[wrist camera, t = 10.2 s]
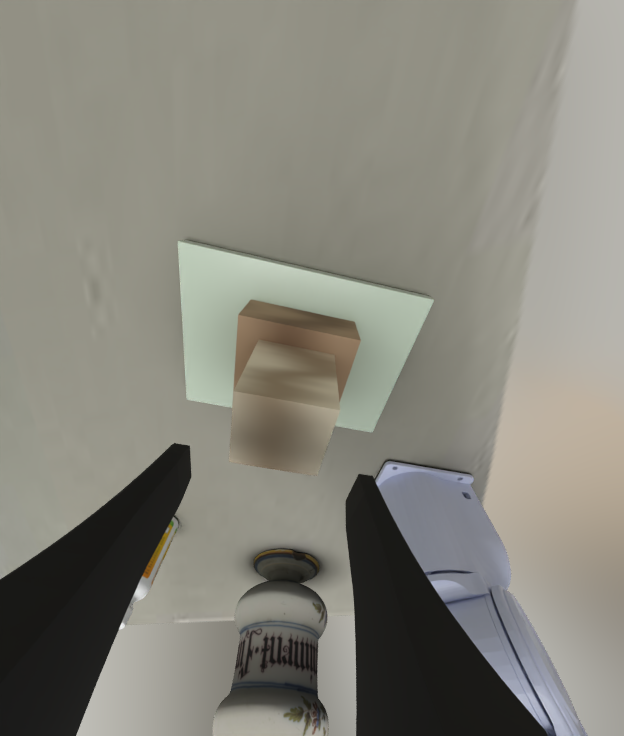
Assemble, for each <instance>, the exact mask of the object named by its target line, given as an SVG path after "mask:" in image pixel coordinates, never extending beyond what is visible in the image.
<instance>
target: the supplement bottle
mask: <svg viewBox="0 0 624 736" xmlns="http://www.w3.org/2000/svg"><path fill="white" fill-rule="evenodd" d="M177 528H178V521H177V520H176V518H175V517H173V518H172V520H171V522H170V524H169V526H168V528H167V530H166V531H165V533H164V535H163V537H162V539H161V541H160V543H159V545H158V546H157V548H156V550H155V552H154V554H153V556H152V558H151V559H150V561H149V563H148V565H147V567H146V569H145V571H144V573H143V575H142V577H141V579H140V582H139V584H138V586H137V589H136V591H135V593H134V595H133V598H132V600H131V602H130V604H129V607H128V609H127V611H126V614H125V616H124V618H123V621H122V623H121V625H120V628H119V629H122V628H124V627H125V625H126V623H127V621H128V619H129V617H130V615H131V614H132V610H133V606H132V605H133V603H134V602H136V601H139V600H141V599H142V598H144V597H145V596H146V595H147V593H148V592H149V590H150V588H151V586H152V584H153V581H154V579H155V577H156V575H157V573H158V570H159V568H160V566H161V564H162V562H163V559H164V557H165V555H166V553H167V551H168V549H169V546H170V544H171V542H172V540H173V537H174V535H175V533H176V531H177Z"/></svg>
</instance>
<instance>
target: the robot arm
mask: <svg viewBox="0 0 624 736" xmlns="http://www.w3.org/2000/svg"><path fill="white" fill-rule="evenodd" d="M190 479H191V461H190V446H188V445H182V444H176V443H174V444H172V445H171V446H170V447H169V448H168V449H167V450H166V451H165V452H164V453H163V454H162V455H161V456H160V457H159V458H158V459H157V460H156V461H154V462H153V463H152V464H151V465H150V466H149V467H148V468H147V469H146V470H145V471H144V472H142V473H141V474H140V475H139V476H138V477H137V478H136V479H134V480H133V481H132V482H131V483H130V484H129V485H128V486H126V487H125V488H124V489H123V490H122V491H121V492H119V493H118V494H117V495H116V496H115V497H113V498H112V499H111V500H110V501H108V502H107V503H106V504H105V505H104V506H102V507H101V508H100V509H99V510H97V511H96V512H95V513H94V514H92V515H91V516H90V517H89V518H87V519H86V520H85V521H83V522H82V523H81V524H79V525H78V526H77V527H75V528H74V529H73V530H71V531H70V532H69V533H67V534H66V535H64V536H63V537H62V538H60V539H59V540H58V541H56V542H55V543H53V544H52V545H51V546H49V547H48V548H46V549H45V550H43V551H42V552H40V553H39V554H38V555H36V556H35V557H33V558H32V559H30V560H29V561H27V562H26V563H24V564H23V565H22V566H20V567H19V568H17V569H16V570H14V571H12V572H11V573H9V574H8V575H6V576H5V577H3V578H2V579H0V736H76V734H77V732H78V729H79V726H80V724H81V721H82V719H83V716H84V713H85V711H86V708H87V706H88V703H89V701H90V698H91V696H92V693H93V691H94V688H95V686H96V683H97V681H98V678H99V676H100V673H101V671H102V668H103V666H104V664H105V661H106V659H107V656H108V654H109V651H110V649H111V646H112V644H113V642H114V639H115V637H116V635H117V632H118V630H119V628H120V625H121V623H122V621H123V618H124V616H125V614H126V611H127V609H128V607H129V604H130V602H131V600H132V598H133V595H134V593H135V591H136V589H137V586H138V584H139V582H140V579H141V577H142V575H143V573H144V571H145V569H146V567H147V565H148V563H149V561H150V559H151V558H152V556H153V554H154V552H155V550H156V548H157V546H158V545H159V543H160V541H161V539H162V537H163V535H164V533H165V531H166V530H167V528H168V526H169V524H170V522H171V520H172V518H173V516H174V515H175V513H176V511H177V509H178V507H179V505H180V503H181V501H182V498H183V496H184V494H185V491H186V489H187V486H188V484H189V481H190ZM473 481H474V478H473V476H472V475H469V474H463V473H457V472H452V471H446V470H440V469H434V468H428V467H422V466H416V465H410V464H404V463H398V462H392V461H388V462H386V463H385V464H384V466H383V468H382V469H381V471H380V473H379V475H378V477H377V479H376V480H374V478H373V476H368V475H362V474H359V475H358V477H357V479H356V481H355V483H354V485H353V487H352V489H351V491H350V493H349V495H348V497H347V499H346V532H347V541H348V550H349V559H350V567H351V576H352V585H353V595H354V610H355V634H356V635H355V637H356V698H357V699H356V701H357V718H356V720H357V721H356V736H587V733H586V732H585V730H584V728H583V726H582V724H581V722H580V720H579V718H578V716H577V714H576V711H575V709H574V707H573V704H572V702H571V700H570V698H569V695H568V693H567V691H566V689H565V687H564V685H563V683H562V681H561V679H560V677H559V675H558V673H557V671H556V669H555V667H554V665H553V663H552V661H551V659H550V657H549V655H548V653H547V652H546V650H545V648H544V646H543V644H542V642H541V640H540V639H539V637H538V635H537V633H536V631H535V629H534V628H533V626H532V624H531V622H530V621H529V619H528V617H527V615H526V614H525V612H524V610H523V609H522V607H521V605H520V604H519V602H518V601H517V599H516V598H515V596H514V595H513V594H511V593H510V592H508V591H507V589H508V587H509V584H510V580H511V569H510V563H509V559H508V555H507V552H506V549H505V547H504V545H503V543H502V541H501V539H500V537H499V535H498V534H497V532H496V530H495V528H494V526H493V524H492V523H491V521H490V519H489V517H488V515H487V514H486V512H485V510H484V508H483V507H482V505H481V503H480V501H479V499H478V498H477V496H476V494H475V492H474V490H473V489H472V487H471V485H470V484H471V483H472V482H473Z"/></svg>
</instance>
